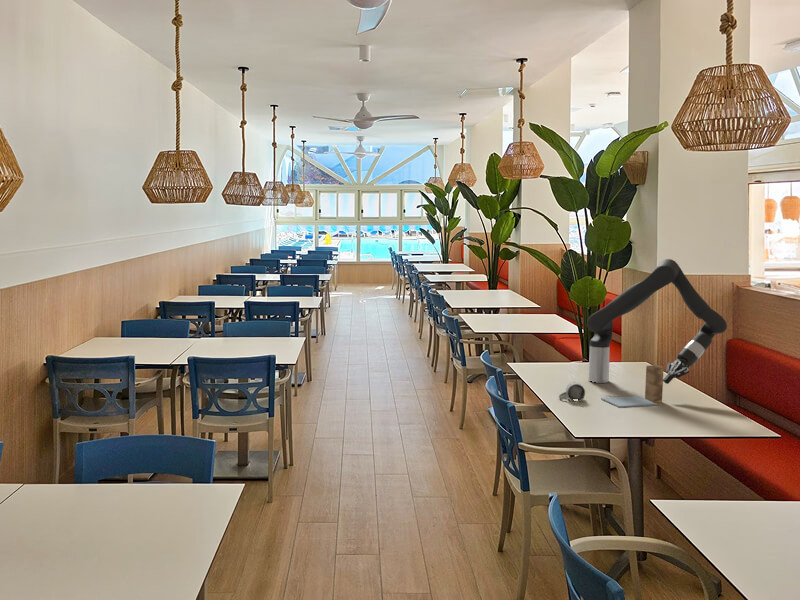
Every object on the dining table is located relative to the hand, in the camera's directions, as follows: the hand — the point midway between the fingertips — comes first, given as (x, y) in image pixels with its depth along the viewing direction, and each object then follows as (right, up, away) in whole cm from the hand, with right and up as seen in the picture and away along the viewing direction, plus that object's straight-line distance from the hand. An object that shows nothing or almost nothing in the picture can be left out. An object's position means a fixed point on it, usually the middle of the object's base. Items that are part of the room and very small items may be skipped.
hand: (665, 382), depth 311 cm
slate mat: (-17, -8, -4) cm, 19 cm away
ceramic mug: (-40, -8, 0) cm, 41 cm away
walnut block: (-5, -8, -1) cm, 10 cm away
